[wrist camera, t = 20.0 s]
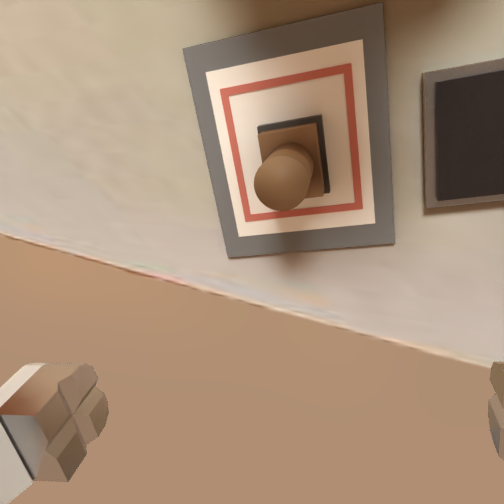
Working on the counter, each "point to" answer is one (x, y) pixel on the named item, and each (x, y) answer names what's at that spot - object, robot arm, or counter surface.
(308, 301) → the counter surface
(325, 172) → the stamp
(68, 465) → the robot arm
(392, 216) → the mat
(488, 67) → the ink pad
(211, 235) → the counter surface
